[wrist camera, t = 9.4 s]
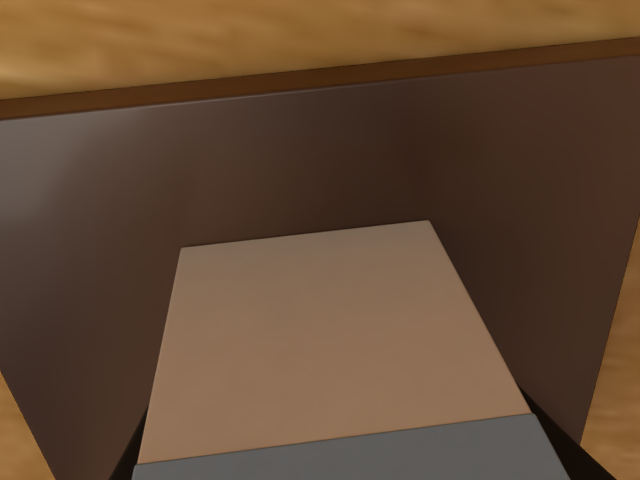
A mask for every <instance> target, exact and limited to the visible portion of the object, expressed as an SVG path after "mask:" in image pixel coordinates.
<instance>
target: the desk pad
mask: <svg viewBox="0 0 640 480" xmlns="http://www.w3.org/2000/svg"><path fill="white" fill-rule="evenodd" d="M639 217H640V37H636V38H626V39H616V40H606V41H596V42H586V43H576V44H565V45H555V46H545V47H535V48H525V49H515V50H505V51H495V52H485V53H474V54H464V55H454V56H444V57H434V58H424V59H414V60H404V61H393V62H383V63H373V64H363V65H353V66H343V67H333V68H323V69H312V70H302V71H292V72H282V73H272V74H262V75H252V76H242V77H231V78H221V79H211V80H201V81H191V82H181V83H171V84H161V85H151V86H140V87H130V88H120V89H110V90H100V91H90V92H80V93H70V94H59V95H49V96H39V97H29V98H19V99H9V100H0V371H1V373H2V375H3V377H4V379H5V381H6V383H7V385H8V387H9V389H10V391H11V393H12V395H13V397H14V399H15V401H16V403H17V405H18V407H19V409H20V411H21V413H22V414H23V416H24V418H25V420H26V422H27V424H28V426H29V428H30V430H31V432H32V434H33V436H34V438H35V440H36V442H37V444H38V446H39V448H40V450H41V452H42V454H43V456H44V458H45V460H46V462H47V464H48V466H49V468H50V470H51V471H52V473H53V475H54V477H55V479H56V480H108V479H109V477H110V476H111V474H112V472H113V471H114V469H115V467H116V465H117V463H118V461H119V460H120V458H121V456H122V454H123V452H124V451H125V449H126V447H127V445H128V443H129V441H130V439H131V437H132V435H133V434H134V432H135V430H136V428H137V426H138V424H139V422H140V420H141V418H142V416H143V414H144V412H145V410H146V408H147V406H148V404H149V403H150V398H151V393H152V388H153V383H154V378H155V374H156V369H157V364H158V359H159V354H160V349H161V344H162V339H163V334H164V329H165V324H166V319H167V315H168V310H169V305H170V300H171V295H172V290H173V285H174V280H175V275H176V270H177V265H178V261H179V256H180V251H181V248H184V247H193V246H202V245H211V244H219V243H228V242H237V241H246V240H255V239H264V238H273V237H282V236H291V235H299V234H308V233H317V232H326V231H335V230H344V229H353V228H362V227H371V226H380V225H388V224H397V223H406V222H415V221H424V220H429V221H430V223H431V225H432V227H433V229H434V230H435V232H436V234H437V236H438V238H439V240H440V242H441V244H442V245H443V247H444V249H445V251H446V253H447V255H448V257H449V259H450V260H451V262H452V264H453V266H454V268H455V270H456V272H457V274H458V275H459V277H460V279H461V281H462V283H463V285H464V287H465V289H466V290H467V292H468V294H469V296H470V298H471V300H472V302H473V304H474V305H475V307H476V309H477V311H478V313H479V315H480V317H481V319H482V320H483V322H484V324H485V326H486V328H487V330H488V332H489V333H490V335H491V337H492V339H493V341H494V343H495V345H496V347H497V348H498V350H499V352H500V354H501V356H502V358H503V360H504V362H505V363H506V365H507V367H508V369H509V371H510V373H511V375H512V377H513V378H514V380H515V381H516V382H517V383H518V385H519V386H520V387H521V388H522V389H523V390H524V391H525V392H526V393H527V394H528V395H529V396H530V397H531V398H532V399H533V400H534V401H535V402H536V403H537V404H538V405H539V406H540V407H541V408H542V409H543V410H544V411H545V412H546V413H547V414H548V415H549V416H550V417H551V418H552V419H553V420H554V421H555V422H556V423H557V424H558V425H559V426H560V427H561V428H562V429H563V430H564V431H565V432H566V433H567V434H568V435H569V436H570V437H571V438H572V439H573V440H574V441H575V442H576V443H577V444H578V445H579V446H580V442H581V439H582V435H583V431H584V427H585V423H586V420H587V416H588V412H589V408H590V404H591V400H592V397H593V393H594V389H595V385H596V381H597V377H598V374H599V370H600V366H601V362H602V358H603V355H604V351H605V347H606V343H607V339H608V335H609V332H610V328H611V324H612V320H613V316H614V313H615V309H616V305H617V301H618V297H619V293H620V290H621V286H622V282H623V278H624V274H625V271H626V267H627V263H628V259H629V255H630V251H631V248H632V244H633V240H634V236H635V232H636V228H637V225H638V221H639Z"/></svg>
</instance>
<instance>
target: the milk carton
mask: <svg viewBox="0 0 640 480" xmlns="http://www.w3.org/2000/svg"><path fill="white" fill-rule="evenodd" d="M132 480H570V478H569V476H568V475H567V473H566V471H565V469H564V467H563V465H562V463H561V462H560V460H559V458H558V456H557V454H556V452H555V450H554V449H553V447H552V445H551V443H550V441H549V439H548V437H547V436H546V434H545V432H544V430H543V428H542V426H541V424H540V423H539V421H538V419H537V417H536V415H535V414H534V413H532V412H531V410H530V408H529V407H528V405H527V403H526V401H525V399H524V397H523V395H522V393H521V392H520V390H519V388H518V386H517V384H516V382H515V380H514V378H513V377H512V375H511V373H510V371H509V369H508V367H507V365H506V363H505V362H504V360H503V358H502V356H501V354H500V352H499V350H498V348H497V347H496V345H495V343H494V341H493V339H492V337H491V335H490V333H489V332H488V330H487V328H486V326H485V324H484V322H483V320H482V319H481V317H480V315H479V313H478V311H477V309H476V307H475V305H474V304H473V302H472V300H471V298H470V296H469V294H468V292H467V290H466V289H465V287H464V285H463V283H462V281H461V279H460V277H459V275H458V274H457V272H456V270H455V268H454V266H453V264H452V262H451V260H450V259H449V257H448V255H447V253H446V251H445V249H444V247H443V245H442V244H441V242H440V240H439V238H438V236H437V234H436V232H435V230H434V229H433V227H432V225H431V223H430V221H429V220H424V221H415V222H406V223H397V224H388V225H380V226H371V227H362V228H353V229H344V230H335V231H326V232H317V233H308V234H299V235H291V236H282V237H273V238H264V239H255V240H246V241H237V242H228V243H219V244H211V245H202V246H193V247H184V248H181V251H180V256H179V261H178V265H177V270H176V275H175V280H174V285H173V290H172V295H171V300H170V305H169V310H168V315H167V319H166V324H165V329H164V334H163V339H162V344H161V349H160V354H159V359H158V364H157V369H156V374H155V378H154V383H153V388H152V393H151V398H150V403H149V408H148V413H147V418H146V423H145V428H144V433H143V437H142V442H141V447H140V452H139V457H138V462H137V465H135V467H134V471H133V475H132Z"/></svg>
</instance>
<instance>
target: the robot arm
mask: <svg viewBox="0 0 640 480" xmlns="http://www.w3.org/2000/svg"><path fill="white" fill-rule="evenodd" d="M515 382H516V381H515ZM516 384H517V386H518V388H519V390H520V392H521V393H522V395H523V397H524V399H525V401H526V403H527V405H528V407H529V408H530V410H531V412H532V413H534V414H535V415H536V417H537V419H538V421H539V423H540V424H541V426H542V428H543V430H544V432H545V434H546V436H547V437H548V439H549V441H550V443H551V445H552V447H553V449H554V450H555V452H556V454H557V456H558V458H559V460H560V462H561V463H562V465H563V467H564V469H565V471H566V473H567V475H568V476H569V478H570V480H617V479H615V478H614V477H613V476H612V475H611V474H610V473H609V472H607V471H606V470H605V469H604V468H603V467H602V466H601V465H600V464H599V463H598V462H596V461H595V460H594V459H593V458H592V457H591V456H590V455H589V454H588V453H587V452H586V451H585V450H584V449H583V448H582V447H581V446H579V445H578V444H577V443H576V442H575V441H574V440H573V439H572V438H571V437H570V436H569V435H568V434H567V433H566V432H565V431H564V430H563V429H562V428H561V427H560V426H559V425H558V424H557V423H556V422H555V421H554V420H553V419H552V418H551V417H550V416H549V415H548V414H547V413H546V412H545V411H544V410H543V409H542V408H541V407H540V406H539V405H538V404H537V403H536V402H535V401H534V400H533V399H532V398H531V397H530V396H529V395H528V394H527V393H526V392H525V391H524V390H523V389H522V388H521V387H520V386H519V385H518V383H517V382H516ZM148 408H149V404H148V406H147V408H146V410H145V412H144V414H143V416H142V418H141V420H140V422H139V424H138V426H137V428H136V430H135V432H134V434H133V435H132V437H131V439H130V441H129V443H128V445H127V447H126V449H125V451H124V452H123V454H122V456H121V458H120V460H119V461H118V463H117V465H116V467H115V469H114V471H113V472H112V474H111V476H110V477H109V479H108V480H132V475H133V471H134V467H135V465H137V462H138V457H139V452H140V447H141V442H142V437H143V433H144V428H145V423H146V418H147V413H148Z"/></svg>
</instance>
